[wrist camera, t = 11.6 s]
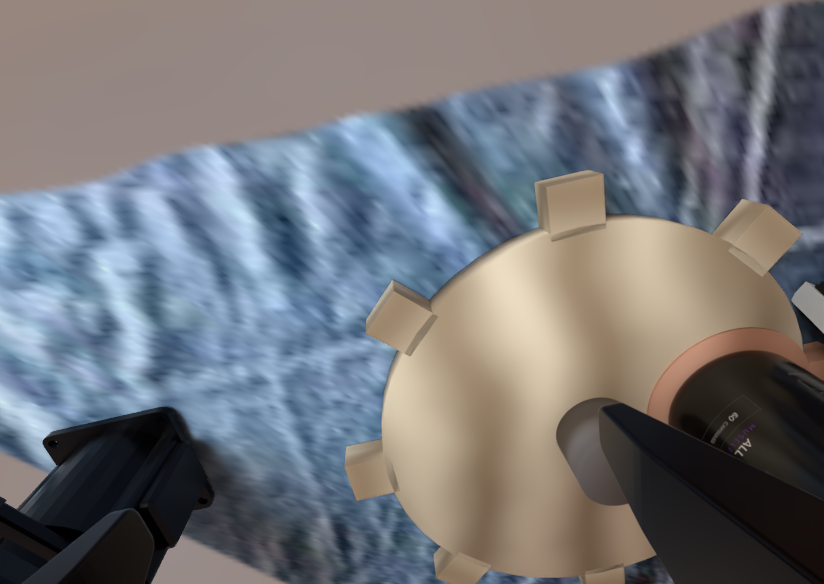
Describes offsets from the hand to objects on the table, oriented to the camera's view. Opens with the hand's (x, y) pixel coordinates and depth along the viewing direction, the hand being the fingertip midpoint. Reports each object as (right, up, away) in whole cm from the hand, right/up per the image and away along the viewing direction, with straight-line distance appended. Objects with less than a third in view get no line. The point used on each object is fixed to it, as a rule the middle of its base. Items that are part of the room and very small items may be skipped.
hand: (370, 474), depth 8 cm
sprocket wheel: (+10, -3, +16) cm, 19 cm away
